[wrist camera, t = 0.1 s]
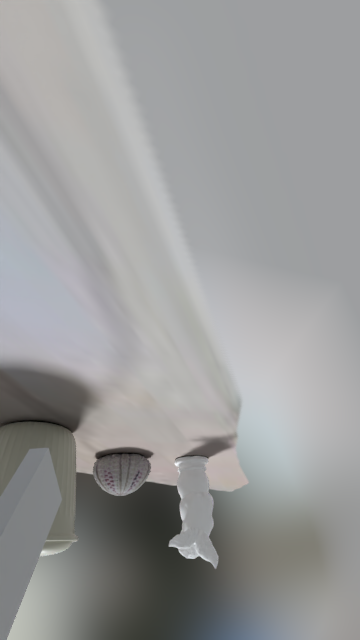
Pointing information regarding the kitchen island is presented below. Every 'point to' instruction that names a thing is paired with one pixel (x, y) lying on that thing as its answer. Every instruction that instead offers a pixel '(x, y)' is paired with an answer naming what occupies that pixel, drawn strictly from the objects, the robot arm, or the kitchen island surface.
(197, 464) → the cherub figurine
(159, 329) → the kitchen island surface
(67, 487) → the canister
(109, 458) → the sea urchin shell
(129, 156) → the kitchen island surface
